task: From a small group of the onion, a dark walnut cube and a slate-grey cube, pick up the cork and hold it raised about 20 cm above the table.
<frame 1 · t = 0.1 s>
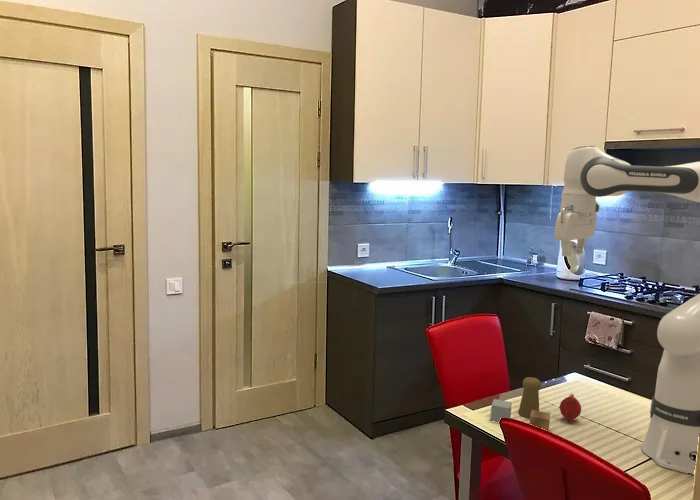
hand: (572, 255, 166), 48 cm above the table, fingers open, 8 cm apart
walnut block: (538, 432, 163), on the table
onion: (569, 421, 171), on the table
cork: (528, 415, 174), on the table
slate block: (500, 420, 169), on the table
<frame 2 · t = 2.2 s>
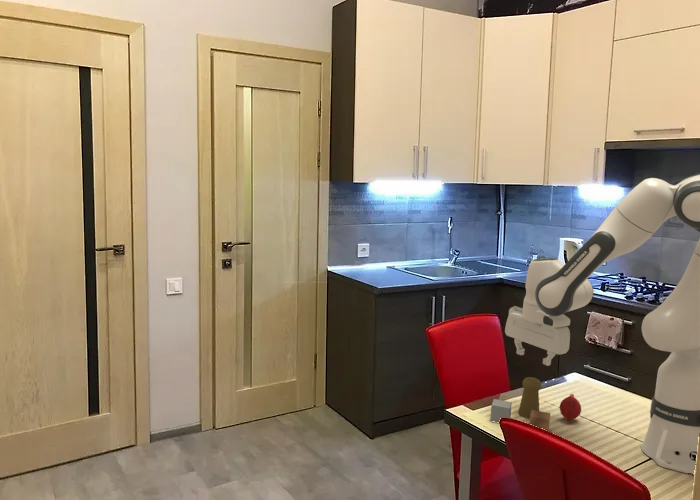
hand: (533, 359, 172), 17 cm above the table, fingers open, 8 cm apart
nothing on the table moved.
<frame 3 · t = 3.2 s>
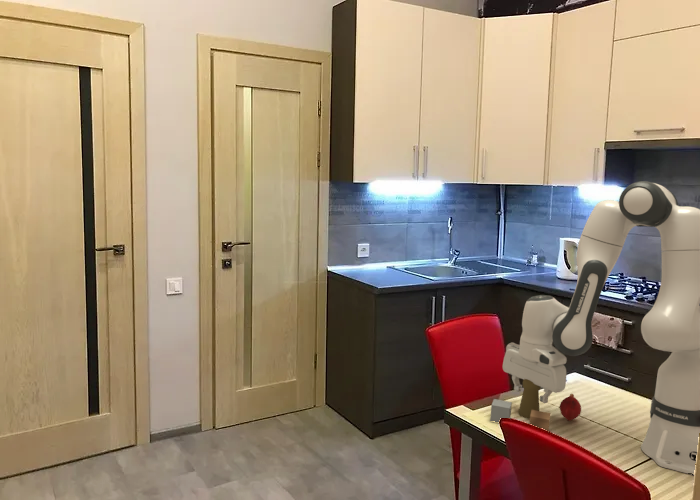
hand: (530, 396, 174), 5 cm above the table, fingers open, 8 cm apart
nothing on the table moved.
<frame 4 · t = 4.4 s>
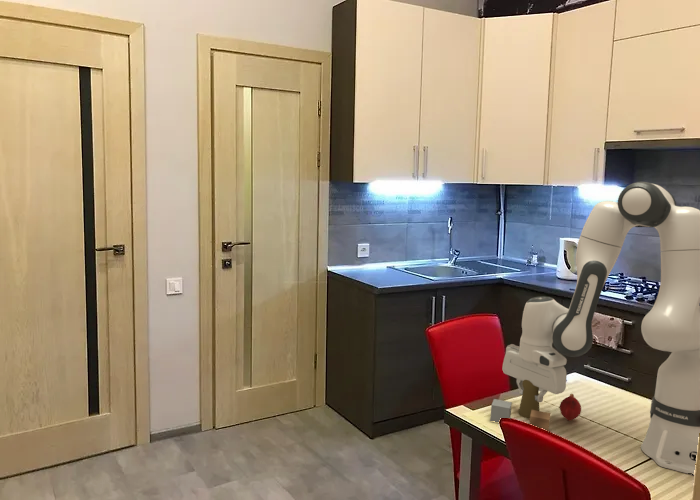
hand: (530, 397, 173), 5 cm above the table, fingers closed on cork, 4 cm apart
cork: (528, 415, 174), on the table, touching gripper
everything else where it was.
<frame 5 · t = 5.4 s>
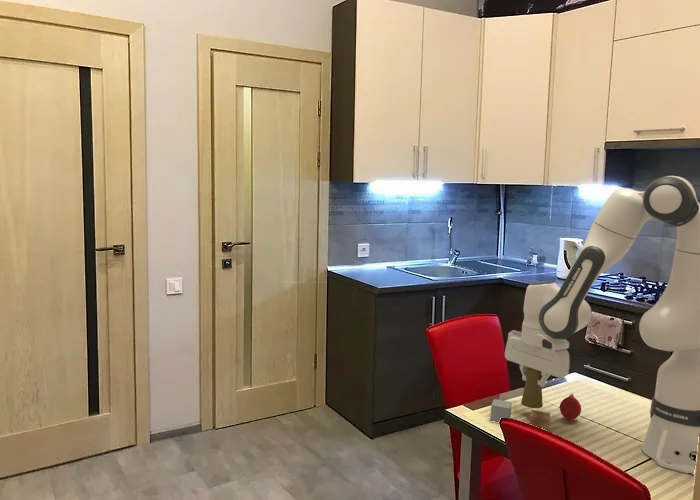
hand: (533, 383, 172), 10 cm above the table, fingers closed on cork, 4 cm apart
cork: (531, 405, 173), point 3 cm above the table, touching gripper
everything else where it was.
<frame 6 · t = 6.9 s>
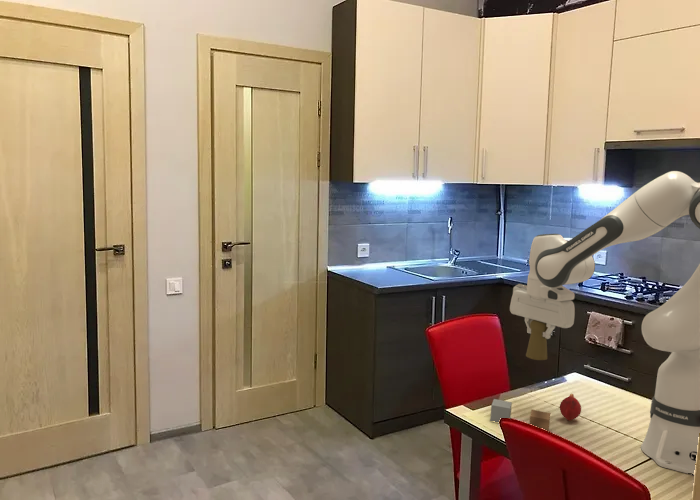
hand: (538, 335, 173), 23 cm above the table, fingers closed on cork, 4 cm apart
cork: (536, 357, 174), point 17 cm above the table, touching gripper
everything else where it was.
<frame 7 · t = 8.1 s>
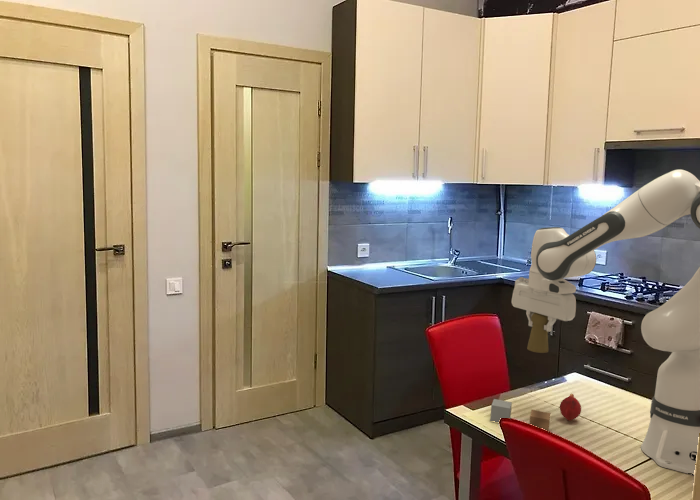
hand: (539, 328, 174), 25 cm above the table, fingers closed on cork, 4 cm apart
cork: (537, 350, 175), point 18 cm above the table, touching gripper
everything else where it was.
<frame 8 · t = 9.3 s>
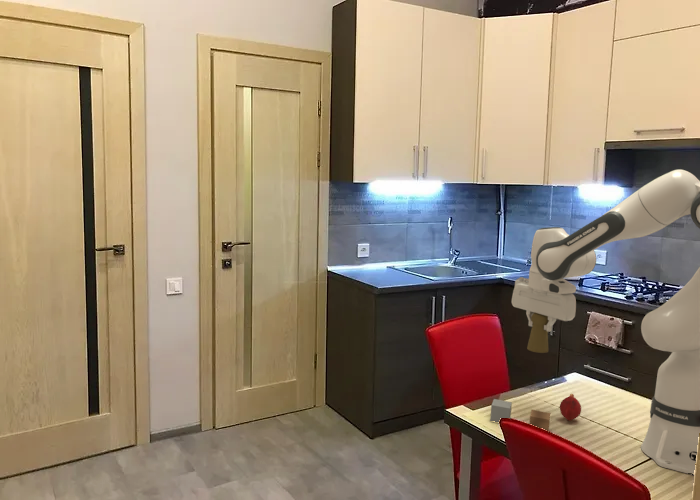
hand: (539, 328, 174), 25 cm above the table, fingers closed on cork, 4 cm apart
cork: (537, 350, 175), point 18 cm above the table, touching gripper
everything else where it was.
at the end: the gripper is holding cork; cork point 18.4 cm above the table; walnut block moved 0.1 cm from its start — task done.
